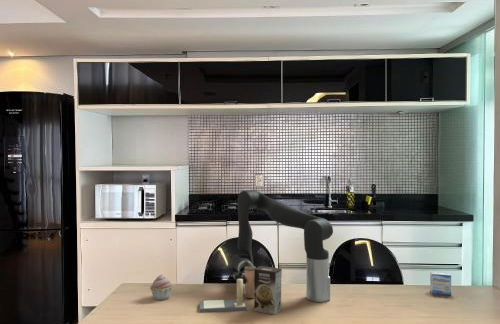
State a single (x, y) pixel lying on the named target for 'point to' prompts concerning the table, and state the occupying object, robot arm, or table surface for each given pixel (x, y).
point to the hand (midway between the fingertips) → (251, 281)
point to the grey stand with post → (226, 302)
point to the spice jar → (249, 281)
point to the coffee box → (267, 289)
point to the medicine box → (440, 283)
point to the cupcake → (161, 288)
